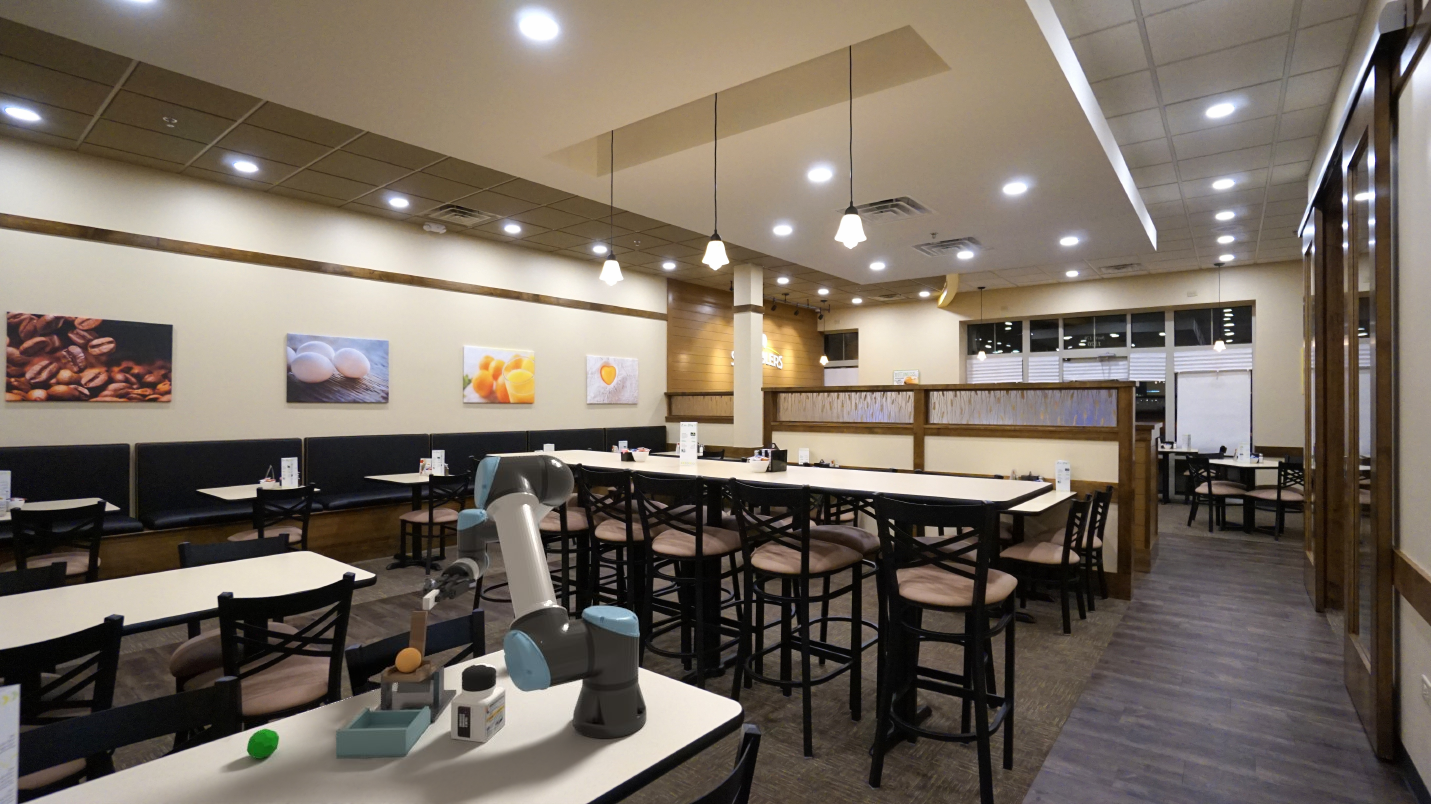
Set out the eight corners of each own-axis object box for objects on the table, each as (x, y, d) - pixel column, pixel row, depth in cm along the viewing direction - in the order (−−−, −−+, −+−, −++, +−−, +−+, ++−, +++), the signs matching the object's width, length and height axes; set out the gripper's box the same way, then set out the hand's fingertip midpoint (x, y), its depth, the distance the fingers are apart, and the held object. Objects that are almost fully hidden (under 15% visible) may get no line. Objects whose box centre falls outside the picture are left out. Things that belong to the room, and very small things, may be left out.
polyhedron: (282, 748, 126) (283, 723, 126) (273, 761, 121) (273, 735, 121) (252, 751, 125) (253, 726, 125) (242, 765, 120) (242, 739, 120)
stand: (393, 695, 149) (393, 657, 149) (456, 694, 150) (456, 656, 150) (365, 724, 136) (365, 682, 136) (434, 722, 136) (435, 681, 136)
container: (485, 743, 128) (486, 676, 128) (449, 739, 130) (450, 673, 130) (505, 724, 136) (506, 661, 136) (472, 720, 137) (472, 658, 137)
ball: (421, 673, 139) (423, 648, 140) (395, 676, 136) (397, 651, 137) (419, 668, 143) (421, 644, 144) (394, 671, 141) (395, 647, 142)
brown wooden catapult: (399, 688, 146) (406, 609, 150) (440, 688, 147) (446, 609, 150) (376, 701, 135) (384, 615, 139) (421, 700, 136) (428, 615, 139)
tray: (367, 725, 135) (367, 700, 135) (430, 723, 136) (430, 699, 136) (335, 758, 123) (336, 731, 123) (405, 756, 123) (405, 729, 123)
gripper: (484, 589, 174) (455, 620, 151) (434, 590, 173) (396, 620, 150) (485, 561, 174) (455, 587, 151) (434, 561, 173) (397, 587, 150)
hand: (426, 603), depth 150 cm, fingers closed
